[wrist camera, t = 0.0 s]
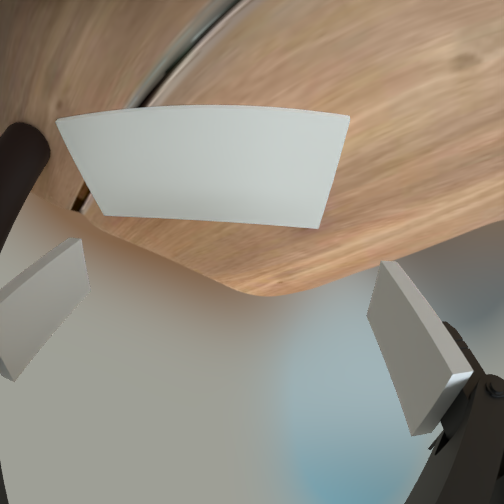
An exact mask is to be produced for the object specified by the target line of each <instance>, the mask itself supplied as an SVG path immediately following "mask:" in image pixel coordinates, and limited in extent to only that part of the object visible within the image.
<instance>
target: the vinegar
mask: <svg viewBox="0 0 504 504" xmlns="http://www.w3.org/2000/svg"><path fill="white" fill-rule="evenodd" d="M49 157H50V149H49V146H48V143H47V141H46V139H45V138H44V136H43V135H42V134H41V133H40V132H39V131H38V130H37V129H36V128H34V127H32V126H31V125H28V124H25V123H14V124H12V125H10V126H9V127H8V128H7V129H6V130H5V132H4V133H3V134H2V135H1V137H0V253H1V250H2V248H3V246H4V243H5V241H6V239H7V237H8V234H9V232H10V230H11V228H12V225H13V223H14V222H15V220H16V218H17V216H18V213H19V212H20V210H21V208H22V206H23V204H24V202H25V200H26V198H27V196H28V195H29V193H30V191H31V189H32V187H33V186H34V184H35V182H36V180H37V179H38V177H39V175H40V174H41V172H42V170H43V169H44V167H45V166H46V164H47V162H48V160H49Z"/></svg>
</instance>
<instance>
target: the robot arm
mask: <svg viewBox="0 0 504 504" xmlns="http://www.w3.org/2000/svg"><path fill="white" fill-rule="evenodd" d="M90 292H91V288H90V283H89V278H88V273H87V268H86V263H85V257H84V252H83V245H82V239H80V238H68V239H67V240H65V241H64V242H62V243H61V244H59V245H58V246H57V247H55V248H54V249H52V250H51V251H49V252H48V253H47V254H46V255H44V256H43V257H41V258H40V259H39V260H37V261H36V262H35V263H33V264H32V265H30V266H29V267H28V268H27V269H25V270H24V271H23V272H21V273H20V274H19V275H17V276H16V277H15V278H14V279H12V280H11V281H10V282H9V283H7V284H6V285H5V286H4V287H3V288H1V289H0V373H1V375H2V376H3V377H5V378H7V379H9V380H11V381H13V382H15V381H16V379H17V378H18V377H19V375H20V374H21V373H22V371H23V370H24V369H25V368H26V366H27V365H28V364H29V363H30V361H31V360H32V359H33V358H34V356H35V355H36V354H37V353H38V351H39V350H40V349H41V348H42V346H43V345H44V344H45V343H46V342H47V340H48V339H49V338H50V337H51V336H52V334H53V333H54V332H55V331H56V330H57V329H58V327H59V326H60V325H61V324H62V323H63V322H64V321H65V319H66V318H67V317H68V316H69V315H70V314H71V313H72V311H73V310H74V309H75V308H76V307H77V306H78V305H79V304H80V302H81V301H82V300H83V299H84V298H85V297H86V296H87V295H88V294H89V293H90ZM367 318H368V320H369V322H370V325H371V328H372V330H373V332H374V335H375V337H376V340H377V342H378V345H379V347H380V350H381V352H382V355H383V357H384V360H385V362H386V365H387V368H388V370H389V373H390V376H391V379H392V381H393V384H394V387H395V389H396V392H397V395H398V398H399V401H400V403H401V406H402V409H403V412H404V415H405V418H406V421H407V424H408V427H409V430H410V433H411V436H416V435H422V434H427V433H431V432H432V431H433V430H434V429H435V427H436V426H437V425H438V423H439V422H440V421H441V424H442V426H443V429H444V430H443V431H442V432H441V434H440V435H439V436H438V437H437V439H436V440H435V441H434V442H433V443H432V444H431V446H430V447H429V448H428V449H429V450H431V449H432V448H433V447H434V448H433V450H432V453H431V455H430V457H429V459H428V461H427V463H426V465H425V467H424V469H423V471H422V473H421V475H420V477H419V479H418V481H417V482H416V484H415V486H414V488H413V490H412V491H411V493H410V495H409V497H408V498H407V500H406V502H405V503H404V504H504V380H503V379H502V378H500V377H498V376H496V375H492V374H488V375H486V374H485V372H484V371H483V369H482V368H481V366H480V364H479V363H478V361H477V360H476V358H475V357H474V355H473V354H472V352H471V350H470V349H468V346H467V345H466V343H465V342H464V341H463V339H462V337H461V336H460V334H459V333H458V332H457V330H456V329H455V328H453V327H452V326H451V325H450V324H448V323H447V322H441V320H440V319H439V317H438V316H437V314H436V313H435V312H434V310H433V309H432V307H431V306H430V305H429V304H428V302H427V301H426V299H425V298H424V296H423V295H422V294H421V292H420V291H419V290H418V288H417V287H416V286H415V284H414V283H413V282H412V281H411V279H410V278H409V277H408V275H407V274H406V273H405V272H404V270H403V269H402V268H401V267H400V265H399V264H398V263H397V262H393V261H381V262H380V267H379V271H378V275H377V279H376V283H375V287H374V290H373V294H372V298H371V301H370V305H369V308H368V312H367ZM0 504H9V503H8V499H7V494H6V490H5V485H4V480H3V475H2V469H1V463H0Z"/></svg>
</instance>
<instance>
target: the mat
mask: <svg viewBox="0 0 504 504" xmlns="http://www.w3.org/2000/svg"><path fill="white" fill-rule="evenodd" d="M349 122H350V117H349V116H347V115H341V114H334V113H327V112H319V111H310V110H301V109H290V108H278V107H263V106H242V105H179V106H158V107H143V108H132V109H121V110H112V111H104V112H97V113H89V114H83V115H76V116H71V117H65V118H59V119H57V120H56V122H55V123H56V125H57V127H58V129H59V131H60V133H61V136H62V138H63V140H64V142H65V144H66V146H67V148H68V150H69V152H70V154H71V156H72V158H73V160H74V162H75V164H76V166H77V167H78V169H79V171H80V173H81V175H82V177H83V179H84V181H85V182H86V184H87V186H88V188H89V190H90V192H91V193H92V195H93V197H94V199H95V200H96V202H97V204H98V206H99V207H100V209H101V211H102V213H103V214H104V216H123V217H146V218H167V219H186V220H203V221H220V222H235V223H250V224H264V225H277V226H290V227H303V228H315V229H318V228H319V225H320V221H321V218H322V215H323V212H324V209H325V206H326V202H327V199H328V196H329V192H330V189H331V186H332V182H333V179H334V176H335V172H336V169H337V165H338V162H339V158H340V155H341V151H342V148H343V144H344V141H345V137H346V133H347V130H348V126H349Z"/></svg>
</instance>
